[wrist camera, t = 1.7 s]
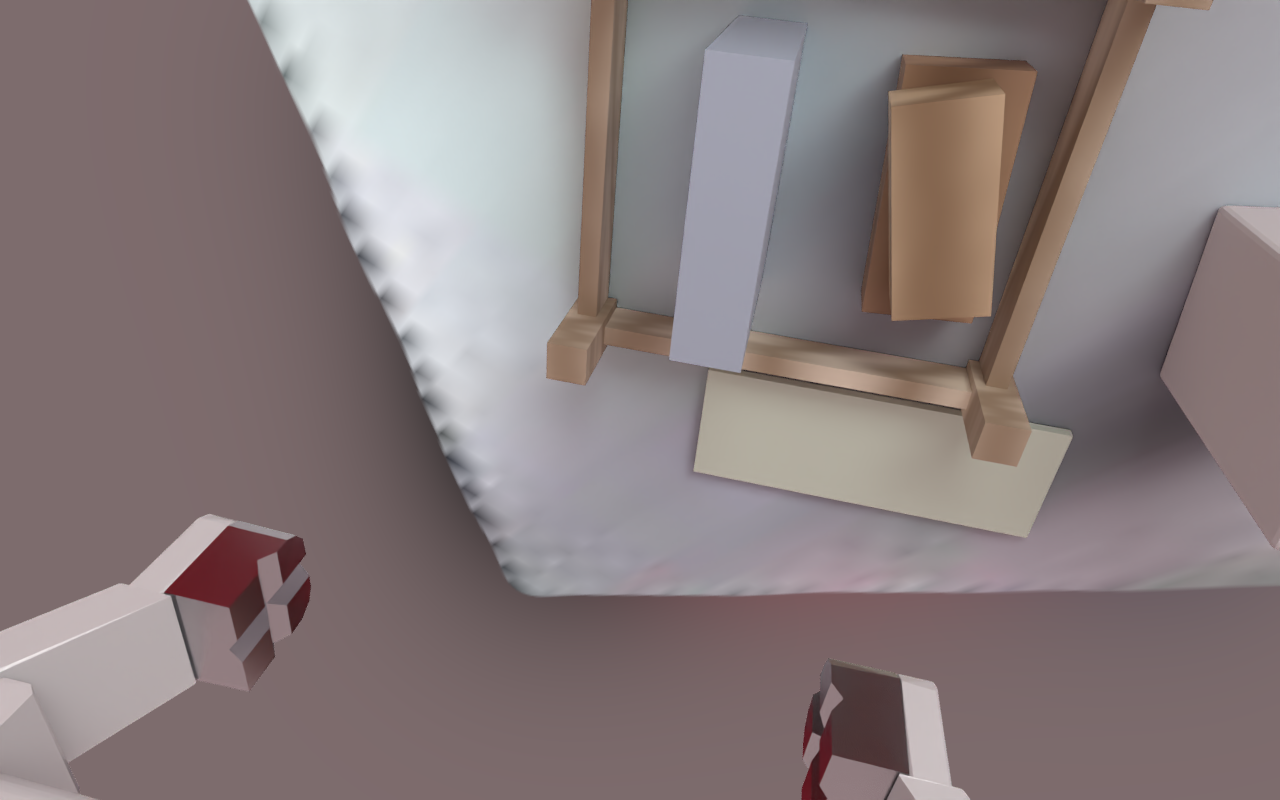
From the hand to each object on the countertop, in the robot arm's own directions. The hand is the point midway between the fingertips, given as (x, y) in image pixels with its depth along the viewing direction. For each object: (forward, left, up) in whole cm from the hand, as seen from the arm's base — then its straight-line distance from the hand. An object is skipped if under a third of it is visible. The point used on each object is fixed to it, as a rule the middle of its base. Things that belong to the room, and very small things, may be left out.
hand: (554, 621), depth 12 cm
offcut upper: (-8, +1, -28) cm, 29 cm away
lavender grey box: (0, +1, -31) cm, 31 cm away
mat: (-9, +16, -31) cm, 36 cm away
